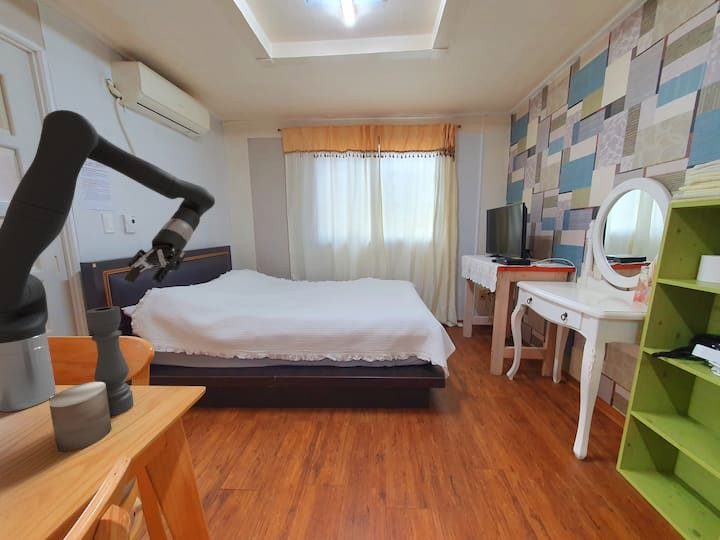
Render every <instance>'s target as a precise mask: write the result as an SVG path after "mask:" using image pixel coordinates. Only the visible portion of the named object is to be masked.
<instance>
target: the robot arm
mask: <svg viewBox="0 0 720 540" xmlns="http://www.w3.org/2000/svg"><path fill="white" fill-rule="evenodd" d="M42 121H43V122H42V127H41V132H40V136H39V137H40V138H39V142H38V145H37V149H36V152H35V155H34V158H33V159H32V162H31V163H30V166H29V167H28V169H26V171H25V173H24V175H23V177H22V178H21V180H20V182H19V183H18V186H17V188H16V189H15V191H14V193H13V195H12V197H11V200H10V202H9V204H8V207H7V208H6V209H7V210H6V212H5V215H4V218H3V221H2V223H1V225H0V411H1V412H2V413H10V412H16V411H21V410H24V409H29V408H31V407H34V406H37V405H39V404H42V403H44V402H46V401H49V400H50V399H49V398H50V397H51V396H53V395H54V393H55V392H56V393H57V389H56V384H55V377H54V371H53V365H52V358H51V353H50V346H49V341H48V336H47V335H48V334H47V329H46V325H47V322H48V320H49V311H48V301H47V292H46V288H45V286H44V284H43V282H42V281H41V280H40V278H38V277H37V276H35V275H33V274H31V271H32V268H33V267H34V264H35V263H36V261H37V259H38V258H39V257H40V256H41V255H42V253H44V251H46V249H47V248H48V247H49V246H51V244H52V243H53V242H54V241H55V239H56V238H57V237H58V236H59V235H60V233H61V232H62V231H63V230H64V229H63V228H64V226H65V223H66V221H67V219H68V216H69V214H70V211H71V208H72V205H73V201H74V197H75V193H76V186H77V181H78V177H79V175H80V173H81V170H82V168H83V166H84V164H85V163H86V161H87V159H88V160H91V161H93V162H96V163H99V164H101V165H103V166H105V167H108V168H109V169H112V170H114V171H116V172H118V173H120V174H122V175H124V176H125V177H127V178H129V179H131V180H133V181H135V182H136V183H138V184H140V185H142V186H144V187H145V188H147V189H150V190H151V191H153V192H156V194H157V193H158V194H159V195H161V196H163V197H164V198H167V199H169V200H175V199H183V200H182V202H181V203H180V205H179V207H178V208H177V210H176V211H175V213H173V215H172V217H171V218H170V219H168V220H167V222H166V223H164V225H163V226H162V227H161V228H160V230H159V231H158V232H157V234H156V235H155V236H154V237H153V239H151V248H150V249H149V250H148V251H145V250H143V249H139V250H138V251H137V252H136V254H135V255H133V257H132V258H131V259H130V260H129V262H127V264H126V265H127V266H128V267H129V268H130V270H129V271H128V273H127V274H126V275H125V277H124V280H125V281H126V282H128V283H130V284H133V283H135V282H136V280H137V279H138V277H139V276H140V275H141V273H142V272H144V271H145V270H146V269H148V270H149V269H151V268H153V267H154V266H155V267H156V266H160V267H158V269H157V271H156V272H155V273H154V275H153V276H152V278H151V279H152V281H153V282H155V283H157V284H161V283H162V282H163V281H164V279H165V278H166V276H167V275H168V274H169V273H171V272H172V271H173V270H174V272H175V271H177V270H179V269H180V266H181V264H182V263H183V262H184V259H185V258H186V256H187V254H186V253H185V251H184V249H185V247H186V246H187V244H188V243H189V242H190V240H191V238H192V236H193V234H194V233H195V231H196V229H197V228H198V226H199V224H200V221H201V217H203V215H204V214H205V213H206V212H208V211H209V210H211V209H212V208H213V207H214V206H215V203H216V199H215V196H214V195H213V194H212V192H210V191H209V190H208V189H207V188H205V187H202V186H201V185H199V184H198V185H197V184H195V183H192V182H189V181H187V180H183V179H180V178H178V177H176V176H174V175H173V174H172V173H170V172H168V171H166V170H165V169H162V168H161V167H159V166H157V165H155V164H152V163H151V162H148V161H147V160H144V159H142V158H140V157H138V156H136V155H135V154H132V153H130V152H128V151H126V150H124V149H122V148H120V147H119V146H117V145H115V144H114V143H112V142H111V141H109V140H108V139H106V138H105V137H104V136H102V135H101V134H100V133H98V132H97V129H96V128H95V125H93V124H92V122H91V121H90V120H89V119H87V118H86V117H85V116H83V115H82V114H80V113H78V112H75V111H72V110H67V109H60V110H53V111H52V112H49V113H48V114H47V115H46V116H44V118H43V120H42ZM146 261H147V262H148V263H147V262H146ZM142 265H143V266H142Z"/></svg>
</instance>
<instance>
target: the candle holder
mask: <svg viewBox="0 0 720 540" xmlns="http://www.w3.org/2000/svg"><path fill="white" fill-rule="evenodd" d="M85 314H86V321H87V326H88V327H90V328H89V329H90V330H91V331H92V332H93V333H94V334H92V336H91V340H92V341H93V342H95V343H96V349H97V357H96V365H95V371H94V375H93V376H94V377H93V379H94V382H104V383H105V385H106V392H107V399H108V406H109V413H110V419H111V418H114V417H117V416H121V415H123V414H125V413H127V412H129V411H130V410H132V408H133V407H134V406H133V405H134V404H133V403H134V397H133V390H131V385H129V384H128V383H126V380H127V379H126V378H127V377H128V375H129V372H130V367H129V365H128V362H127V361H126V359H125V356H124V355H123V352H122V351H121V346H120V339H119V338H120V337H121V336H122V333H123V332H122V331H121V330H119V326H120V324H121V321H122V316H121V307H120V306H117V305H115V306H114V305H111V306H103V307H97V308H92V309H89V310H86V311H85ZM129 409H130V410H129ZM126 411H127V412H126ZM124 412H125V413H124ZM122 413H123V414H122ZM120 414H121V415H120Z"/></svg>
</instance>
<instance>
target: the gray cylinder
mask: <svg viewBox="0 0 720 540" xmlns="http://www.w3.org/2000/svg"><path fill="white" fill-rule="evenodd" d="M48 404H49V410H50V416H51V421H52V422H51V423H52V427H53V432H54V440H55V444H56V445H55V446H56V450H57V451H58V452H59V453H70V452H76V451H78V450H81V449H85V448H87V447H89V446H92V445H94V444H96V443H97V442H99V441H101V440H102V439H103V438H105V437H106V436H108V434H110V432H111V431H112V421H111V418H110V413H109V406H108V399H107V392H106V385H105V383H104V382H96V381H92V382H85V383H81V384H78V385H75V386H72V387H68V388H67V389H64V390H61V391H60V392H56V394H55V395H54V396H53V397H52V398H50V399H48Z"/></svg>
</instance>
